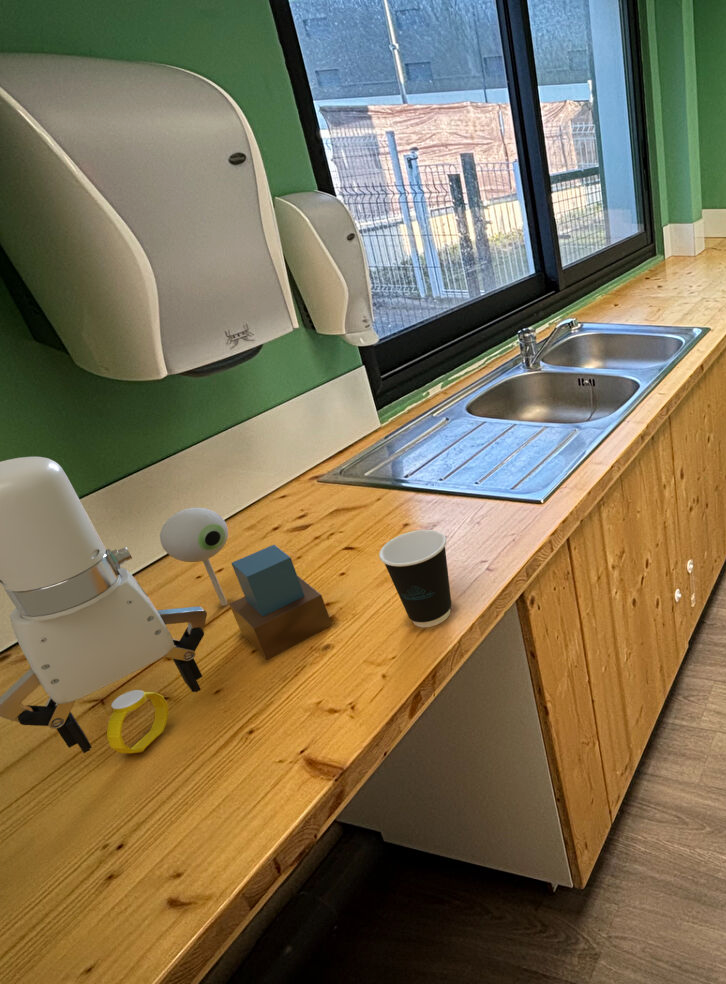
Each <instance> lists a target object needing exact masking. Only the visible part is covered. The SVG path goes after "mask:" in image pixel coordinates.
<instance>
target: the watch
mask: <svg viewBox="0 0 726 984" xmlns="http://www.w3.org/2000/svg"><path fill="white" fill-rule="evenodd" d="M147 699H149V700H150V701H151V703H152V705H153V707H154V720H153V722H152V725H151V728H150V730H149V731H148V732H147V733H146V734H145V735H144V736H143V737H142V738H141V739H140V740H139V741H137V742H136V743H135V744H134V745H133V746H131V747H130V746H128V745H127V744H125V740H124V738H123V735H122V733H123V726H124V720H125V719H126V716H127V715H128V713H129V712H132V711H135V710H136V709H138V708H140V707H141V706H142V705H143V704H144V703H146V700H147ZM111 709H112V710H113V712H112V714H111V716H110V717H109V721H108V724H107V728H106V730H107V731H106V738H107V741H108V744H109V747H110V748H111V749H112V750H113V751H115V752H117V753H119V754H139V753H142V752H145V750H146V749H147V747H148V746H150V745H151V744H152V743H153V742H154V741H155V740H156V739H157V738H158V737H159V736H160V735H161V734H163V733H164V732H165V728H166V726H167V723H168V719H169V705H168V703H167V701H166V699H165V697H164V696H163V695H162V694H159V693H158V692H155V691H144V690H141V689H134V690H130V691H127V692H125V693H123V694H121V695H119V696H117V697H116V698H115V699H114V700H113V701H112V703H111Z"/></svg>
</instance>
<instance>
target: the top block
mask: <svg viewBox="0 0 726 984" xmlns="http://www.w3.org/2000/svg"><path fill="white" fill-rule="evenodd" d="M230 564H231V566H232V569H233V571H234V573H235V576H236V578H237V581H238V583H239V586H240V589H241V591H242V594H243V595H244V596H243V597H245V598H246V600H247V602H248V603H249V604H250V605H251V606H252V607H253V608H254V609H255V610H256V611H257V612H258V613H259V614H260V615H262V616H265V615H267V614H269V613H271V612H273V611H275V610H277V609H280V608H282V607H284V606H286V605H288V604H290V603H292V602H294V601H296V600H298V599H300V598H302V597H304V593H303V590H302V587H301V585H300V582H299V579H298V576H299V575H298V574H297V571H296V569H295V566H294V563H293V560H292V557H291V556H290V555H288V554H287V553H286V552H285V551H283V550H282V549H280V547H278V546H277V545H276V544H272V545H269V546H267V547H264V548H263V549H260V550H258V551H256V552H253V553H251V554H248V555H245V556H244V557H242V558H239V559H237V560H235V561H232V562H231V563H230Z"/></svg>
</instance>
